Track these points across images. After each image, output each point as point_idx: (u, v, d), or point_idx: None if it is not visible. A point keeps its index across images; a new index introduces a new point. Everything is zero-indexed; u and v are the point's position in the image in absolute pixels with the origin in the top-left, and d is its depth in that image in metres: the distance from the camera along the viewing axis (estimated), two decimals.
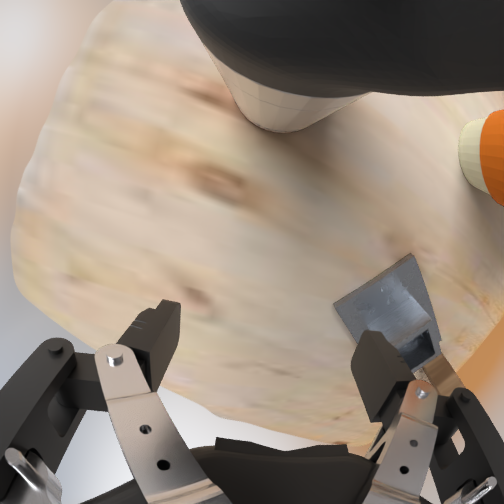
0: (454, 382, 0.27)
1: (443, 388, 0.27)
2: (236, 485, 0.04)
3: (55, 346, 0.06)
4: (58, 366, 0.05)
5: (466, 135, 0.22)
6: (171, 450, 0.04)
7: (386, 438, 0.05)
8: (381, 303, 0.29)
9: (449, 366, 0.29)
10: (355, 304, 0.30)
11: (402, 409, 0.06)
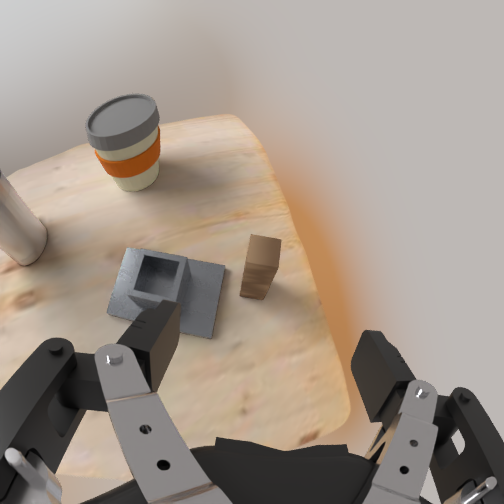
0: None
1: None
2: (236, 485, 0.04)
3: (55, 346, 0.06)
4: (58, 366, 0.05)
5: None
6: (171, 450, 0.04)
7: (386, 438, 0.05)
8: None
9: None
10: (116, 300, 0.37)
11: (402, 409, 0.06)
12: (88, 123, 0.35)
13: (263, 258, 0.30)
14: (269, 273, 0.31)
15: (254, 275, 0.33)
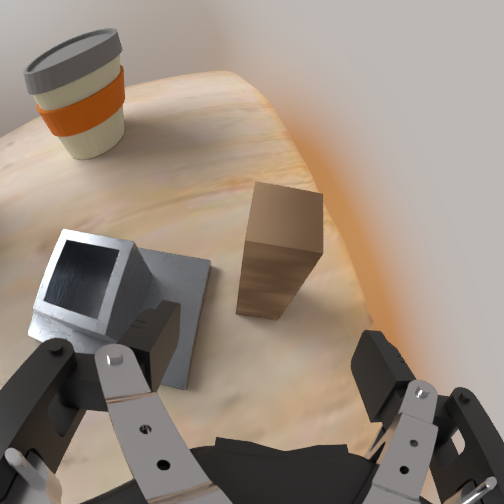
0: None
1: None
2: (236, 485, 0.04)
3: (55, 346, 0.06)
4: (58, 366, 0.05)
5: None
6: (171, 450, 0.04)
7: (386, 438, 0.05)
8: None
9: None
10: (40, 316, 0.19)
11: (402, 409, 0.06)
12: (30, 66, 0.18)
13: (286, 233, 0.12)
14: (298, 269, 0.14)
15: (264, 275, 0.15)
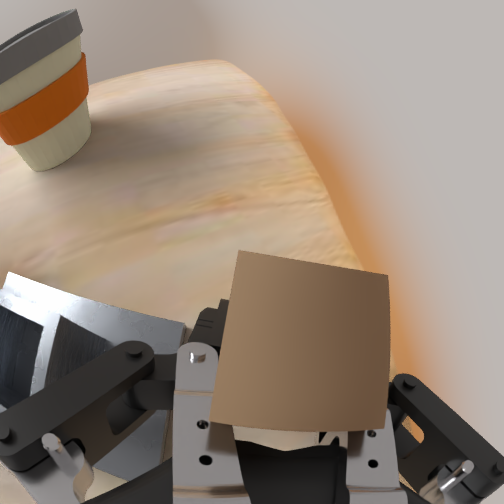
0: None
1: None
2: None
3: (134, 349, 0.07)
4: (142, 369, 0.06)
5: None
6: (219, 449, 0.04)
7: (337, 432, 0.06)
8: None
9: None
10: None
11: None
12: None
13: (309, 395, 0.05)
14: None
15: None
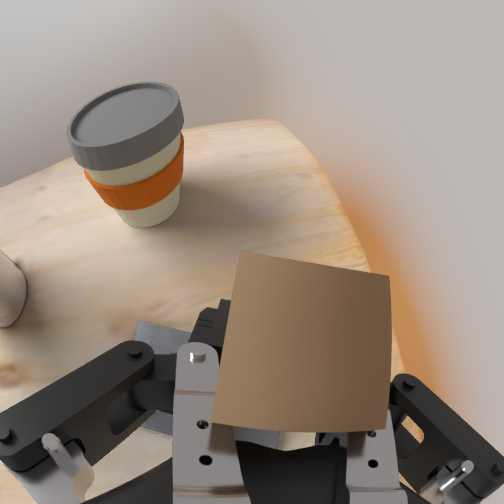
0: None
1: None
2: None
3: (134, 350, 0.07)
4: (142, 369, 0.06)
5: None
6: (219, 449, 0.04)
7: (337, 432, 0.06)
8: None
9: None
10: None
11: None
12: (72, 126, 0.21)
13: (310, 396, 0.05)
14: None
15: None
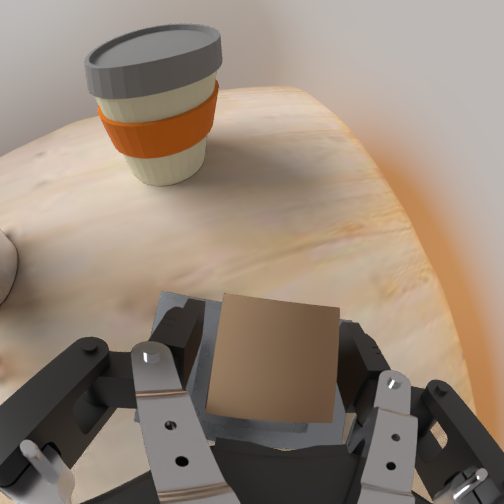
0: None
1: None
2: (236, 485, 0.04)
3: (89, 346, 0.06)
4: (95, 365, 0.06)
5: None
6: (192, 448, 0.04)
7: (365, 434, 0.05)
8: None
9: None
10: None
11: (377, 402, 0.06)
12: (90, 58, 0.16)
13: (274, 396, 0.07)
14: None
15: None
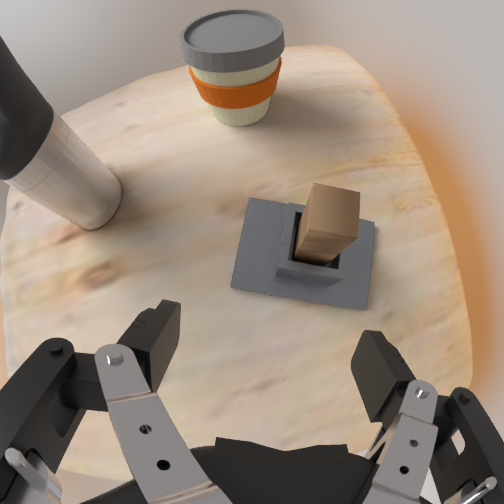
0: (303, 217, 0.23)
1: (300, 238, 0.23)
2: (236, 485, 0.04)
3: (55, 346, 0.06)
4: (58, 366, 0.05)
5: (210, 109, 0.37)
6: (171, 450, 0.04)
7: (386, 438, 0.05)
8: (265, 249, 0.32)
9: (300, 221, 0.26)
10: (243, 269, 0.31)
11: (402, 409, 0.06)
12: (184, 39, 0.24)
13: (334, 223, 0.18)
14: (341, 243, 0.20)
15: (318, 244, 0.21)
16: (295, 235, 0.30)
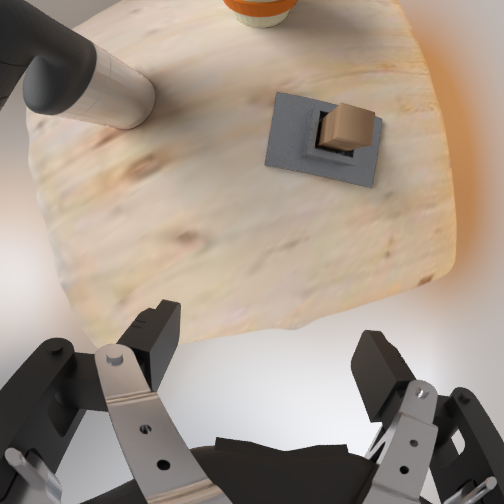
0: (329, 120, 0.27)
1: (326, 135, 0.28)
2: (236, 485, 0.04)
3: (55, 347, 0.06)
4: (58, 366, 0.05)
5: (233, 12, 0.29)
6: (171, 450, 0.04)
7: (386, 438, 0.05)
8: (291, 134, 0.36)
9: (324, 119, 0.29)
10: (274, 151, 0.36)
11: (402, 409, 0.06)
12: None
13: (355, 134, 0.23)
14: (358, 145, 0.25)
15: (340, 143, 0.26)
16: (318, 126, 0.33)
